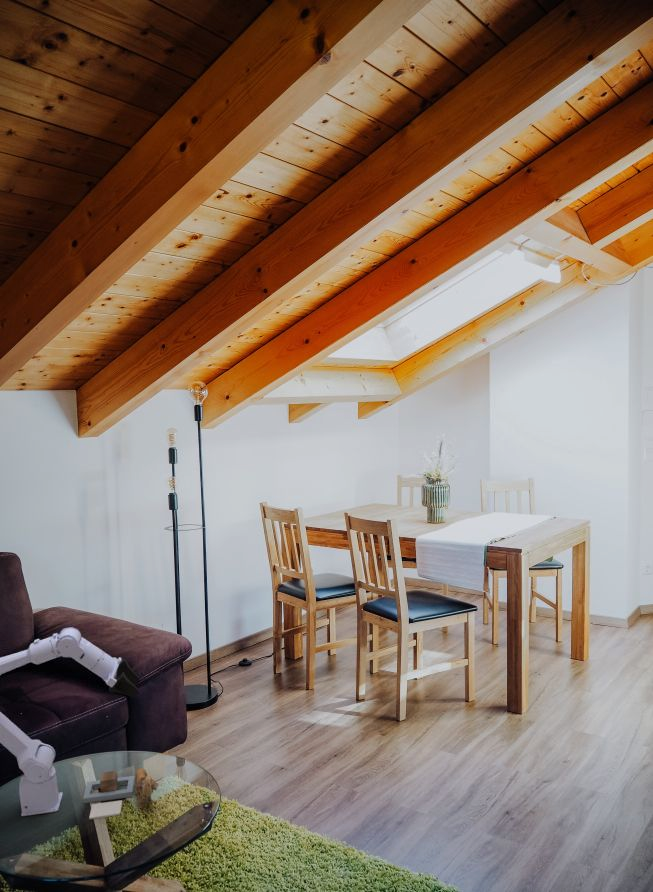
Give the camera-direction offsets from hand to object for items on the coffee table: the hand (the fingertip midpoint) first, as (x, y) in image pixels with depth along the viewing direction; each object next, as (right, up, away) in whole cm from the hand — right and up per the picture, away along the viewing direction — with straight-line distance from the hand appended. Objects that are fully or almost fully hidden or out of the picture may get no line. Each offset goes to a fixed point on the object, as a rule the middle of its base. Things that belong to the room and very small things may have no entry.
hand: (137, 688), depth 208 cm
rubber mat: (-8, -32, -2) cm, 33 cm away
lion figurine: (+2, -31, +2) cm, 31 cm away
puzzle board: (-9, -31, +6) cm, 33 cm away
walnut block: (-9, -31, +6) cm, 33 cm away
